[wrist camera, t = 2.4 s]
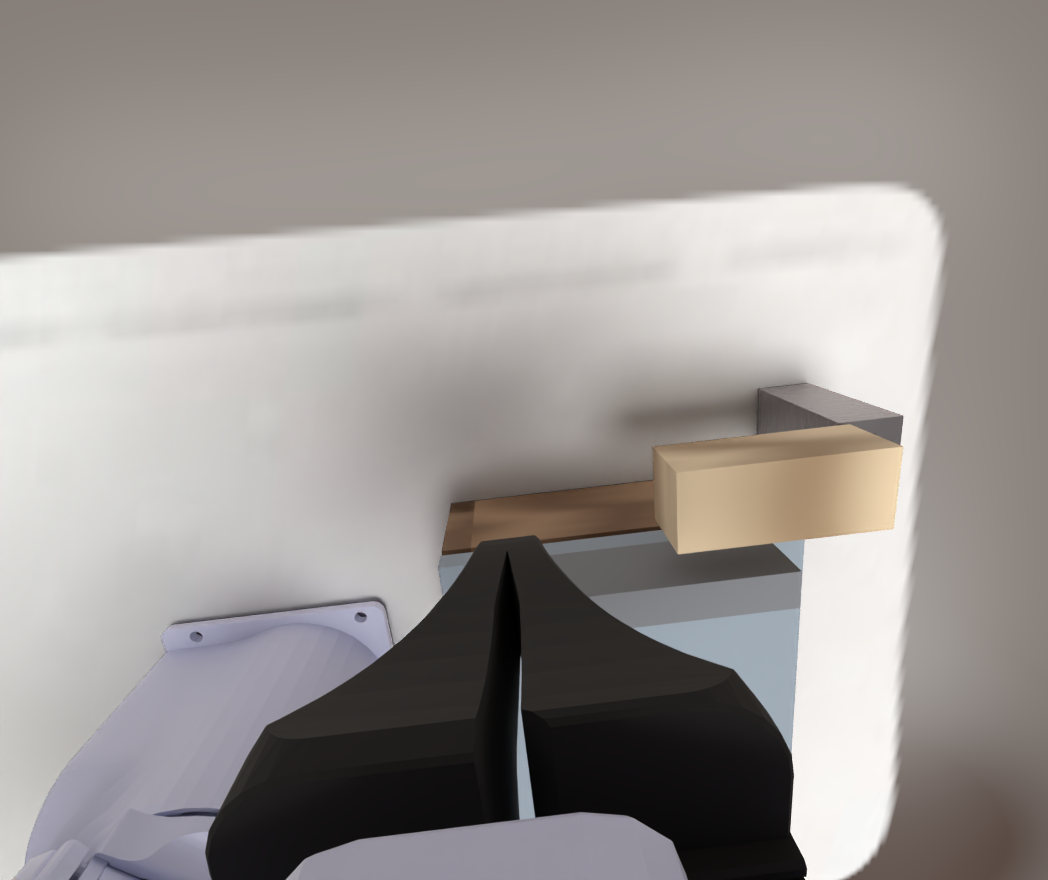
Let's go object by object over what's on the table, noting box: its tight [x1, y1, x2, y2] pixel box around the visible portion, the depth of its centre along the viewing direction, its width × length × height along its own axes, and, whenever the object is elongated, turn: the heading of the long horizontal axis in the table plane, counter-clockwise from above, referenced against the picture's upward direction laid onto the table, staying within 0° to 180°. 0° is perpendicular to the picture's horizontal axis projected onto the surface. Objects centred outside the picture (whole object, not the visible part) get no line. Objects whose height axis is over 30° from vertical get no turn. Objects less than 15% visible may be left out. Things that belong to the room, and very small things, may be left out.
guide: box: [757, 383, 903, 445], centre depth 19 cm, size 2×2×5 cm
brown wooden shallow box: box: [442, 480, 662, 556], centre depth 22 cm, size 12×16×4 cm
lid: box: [438, 530, 804, 820], centre depth 18 cm, size 12×16×4 cm
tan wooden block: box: [653, 424, 903, 554], centre depth 15 cm, size 6×2×2 cm, turn 96°
